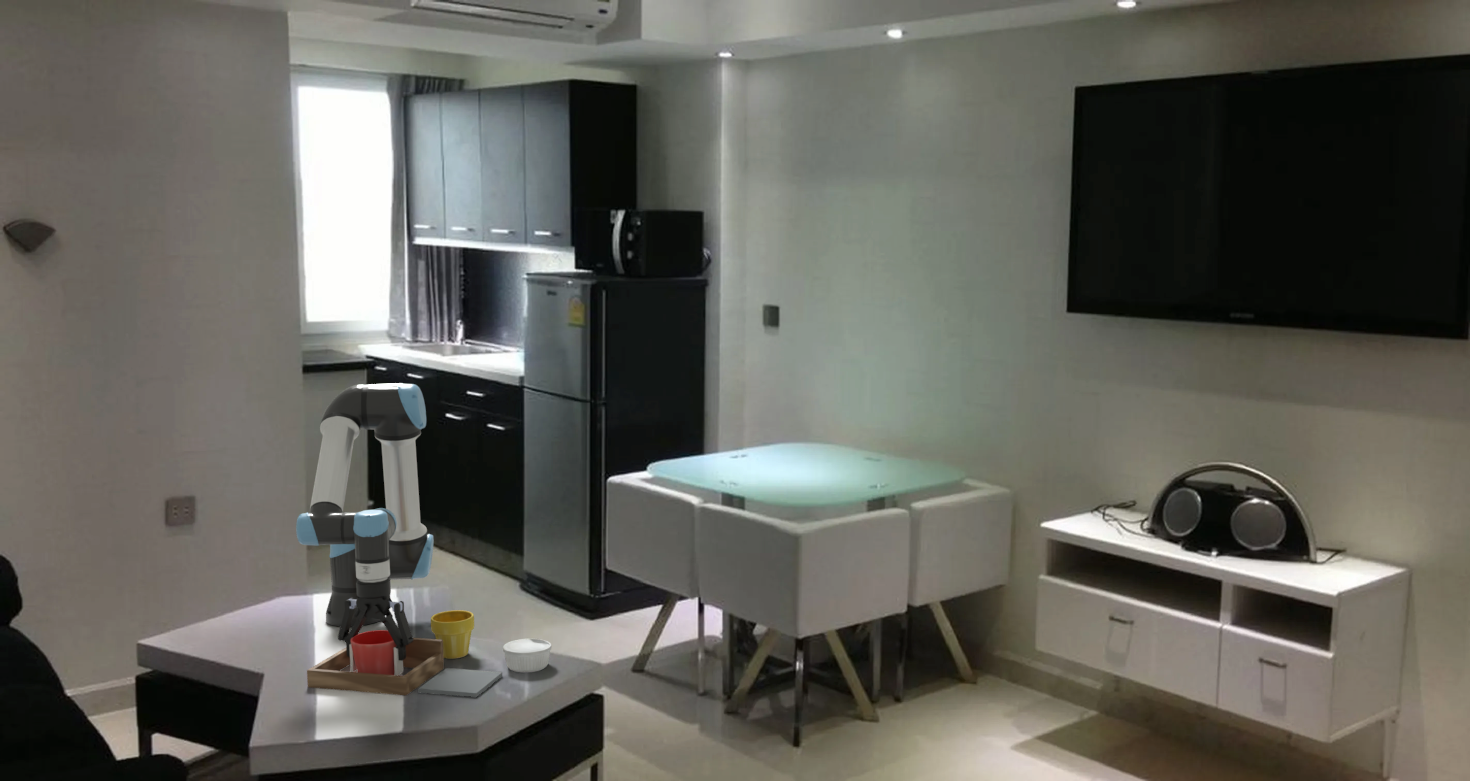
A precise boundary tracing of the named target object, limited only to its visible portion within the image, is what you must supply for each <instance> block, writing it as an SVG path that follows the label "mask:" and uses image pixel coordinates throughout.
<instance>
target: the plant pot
mask: <svg viewBox="0 0 1470 781" xmlns="http://www.w3.org/2000/svg"><path fill="white" fill-rule="evenodd" d="M430 628H431V632H432V633H433V634H434V637H435V639H440V640H443V659H447V660H454V659H455V660H456V659H460V658H461V659H462V658H464V657H466V656H467V655H468V654H469V649H470V644H471V643H470V642H471V638H472V637H471V636H472V631H473V630H474V629H475V615H474V613H473V612H471V611H468V610H462V609H461V610H459V609H458V610H457V609H456V610H445V611H441V612H437V613H435V614H433V615H432V616H431V617H430Z"/></svg>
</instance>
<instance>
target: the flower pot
mask: <svg viewBox="0 0 1470 781" xmlns="http://www.w3.org/2000/svg"><path fill="white" fill-rule="evenodd" d="M350 641H351V646H352V651H353V655H354V659H355V664H356V667H357V670H356V672H360V673H373V674H385V675H395V671H394V647H396V646H397V645H396V644H395V642H394V640H393V639H392V637H391V635H390V634H389V632H388V630H387V629H386V630H384V629H379V630H377V629H376V630H368V631H365V632H363V631H362V632H361V633H360V632H359V633H358V634H357V635H356V636H354V637H352V638H351V640H350Z"/></svg>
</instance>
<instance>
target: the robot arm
mask: <svg viewBox="0 0 1470 781" xmlns="http://www.w3.org/2000/svg"><path fill="white" fill-rule="evenodd" d="M426 410H427V409H426V404H425V399H424V395H423V392H422V390H421V387H420V386H418V385H417V384H414V383H403V382H399V383H376V384H375V383H374V384H373V383H371V384H369V383H368V384H366V383H359V384H354V385H351V386H349V387H347V388H345V389H344V390H342V391H341V392H340V393H338V394H337V395H336V396H335V397H334V398H333V399H332V400H331V401H330V403H329V404H328V405H327V407H326V408H325V410H324V412H323V413H322V417H321V420H320V426H319V430H320V434H321V435H322V439H321V444H320V451H319V456H318V461H317V468H316V471H315V472H316V473H315V477H314V478H315V479H314V483H313V490H312V494H311V499H310V500H311V501H310V506H309V512H305V513H304V512H303V513H300V514H299V515H298V516H297V520H296V524H295V525H296V526H295V529H296V530H295V531H296V538H297V541H298V543H299V544H300V545H303V546H317V547H319V546H329V547H330V548H329V549H330V551H329V561H330V562H329V563H330V580H331V584H330V585H331V594H330V598H329V600H328V604H327V608H326V612H325V621H326V623H327V624H328V625H330V626H334V627H339V632H338V635H337V639H338V640H339V641H342V642H344V643H345V645H346V647H345V648H346V650H347V656H348V657H350V665H349V669H350V671H349V672H357V667H356V664H355V659H354V655H353V651H352V646H351V641H350V640H351V638H352V637H354V636H356V635H357V634H360V632H361V630H362V627H363V626H367V625H370V624H375V623H378V622H381V623H382V624H383V625H384V627H385V629H386V630H388V632H389V634H390V635H391V637H392V639H393V640H394V642H395V644H396V645H397V646H396V647H394V671H395V674H394V675H398V676H400V675H401V674H402V673H404V667H403V660H404V659H405V658H406V645H408V644H410V643H412V642H413V638H414V637H413V634H412V631H411V627H410V625H409V622H408V618H407V616H406V615H407V614H406V612H405V602H404V601H403V600H400V601H398V602H397V601H392V599H391V592H392V590H391V589H392V588H391V580H392V581H393V580H415V579H425V578H426V577H428V575H429V574H430V572H431V567H432V560H433V552H434V542H435V541H434V535H433V534H430V533H428V529H427V527H426V525H424V524H423V523H421V510H420V506H421V505H420V495H419V493H420V492H419V491H420V490H419V477H418V462H417V446H416V440H417V439H418V438H419V437H420V436H421V434H422V431H421V430H422V429H425V428H426V426H427V411H426ZM362 430H371V431H372V430H374V431H373V432H374V437H375V439H376V440H377V441H379V443H380V444H381V456H382V469H383V470H382V471H383V482H384V484H383V485H384V498H385V499H384V500H385V508H383V507H379V508H375V509H364V510H362V511H344V506H345V500H346V493H347V487H348V480H349V475H350V474H349V473H350V468H351V462H352V461H351V460H352V456H353V450H354V449H353V448H354V444H355V443H354V441H355V440H356V439H357V438H358V437H359V435H360V432H361V431H362ZM390 609H391V610H390ZM391 611H392V612H393V613H394V617H393V614H392V612H391ZM394 618H395V619H394Z"/></svg>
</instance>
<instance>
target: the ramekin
mask: <svg viewBox="0 0 1470 781" xmlns="http://www.w3.org/2000/svg"><path fill="white" fill-rule="evenodd" d="M551 650H552V643H551V642H550V641H548V640H545V639H541V638H528V637H527V638H519V639H515V640H511V641H508V642H506V643H505V644H504V645H503V646H502V651H503V653H504V658H505V661H506V662H505V663H506V666H507V668H508V669H509V670H510V671H513V672H515V673H535V672H540V671H541V670H544V669H545V668H547V666H548V664H549V660H550V655H551Z"/></svg>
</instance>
